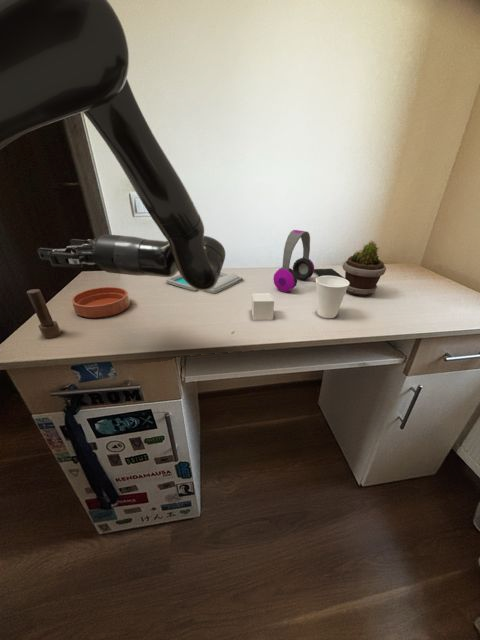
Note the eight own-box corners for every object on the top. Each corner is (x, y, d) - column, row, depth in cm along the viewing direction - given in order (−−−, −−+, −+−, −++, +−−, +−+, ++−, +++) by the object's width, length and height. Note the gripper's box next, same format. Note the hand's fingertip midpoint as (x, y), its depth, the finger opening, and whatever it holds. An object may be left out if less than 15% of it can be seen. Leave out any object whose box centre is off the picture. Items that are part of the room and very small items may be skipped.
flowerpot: (338, 283, 114) (348, 230, 103) (378, 288, 111) (392, 234, 100) (336, 296, 102) (347, 238, 91) (380, 302, 99) (397, 242, 88)
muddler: (41, 339, 71) (20, 294, 65) (45, 331, 74) (26, 288, 68) (59, 337, 72) (40, 293, 66) (62, 329, 76) (45, 287, 69)
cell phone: (331, 270, 127) (331, 268, 127) (349, 284, 113) (350, 282, 112) (313, 271, 126) (313, 268, 125) (329, 285, 111) (329, 283, 111)
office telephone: (243, 274, 112) (211, 289, 97) (243, 280, 113) (212, 296, 98) (197, 263, 121) (162, 275, 106) (198, 269, 122) (163, 282, 107)
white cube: (273, 319, 85) (274, 301, 82) (253, 320, 84) (253, 301, 81) (270, 310, 90) (271, 293, 87) (251, 311, 89) (251, 293, 86)
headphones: (291, 295, 101) (297, 237, 90) (270, 290, 105) (274, 233, 94) (314, 280, 116) (321, 228, 105) (295, 275, 120) (300, 225, 109)
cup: (304, 310, 91) (309, 277, 85) (329, 306, 95) (335, 274, 89) (322, 324, 84) (328, 288, 78) (349, 318, 87) (356, 284, 81)
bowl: (71, 322, 79) (66, 309, 77) (80, 301, 91) (76, 289, 89) (129, 315, 84) (126, 303, 82) (131, 296, 96) (128, 285, 94)
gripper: (142, 229, 61) (75, 224, 63) (99, 244, 49) (19, 236, 51) (148, 264, 65) (85, 257, 67) (110, 285, 54) (35, 276, 56)
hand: (56, 248), depth 59 cm, fingers open, 8 cm apart
